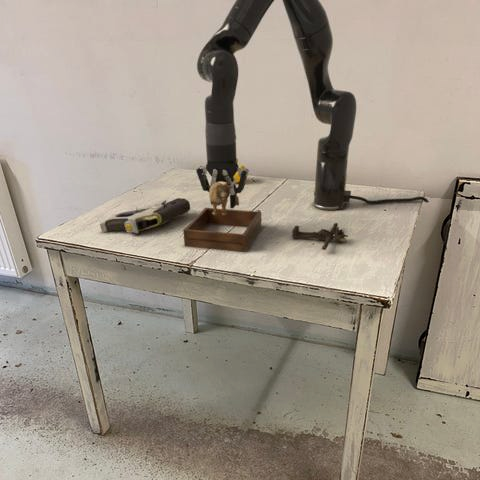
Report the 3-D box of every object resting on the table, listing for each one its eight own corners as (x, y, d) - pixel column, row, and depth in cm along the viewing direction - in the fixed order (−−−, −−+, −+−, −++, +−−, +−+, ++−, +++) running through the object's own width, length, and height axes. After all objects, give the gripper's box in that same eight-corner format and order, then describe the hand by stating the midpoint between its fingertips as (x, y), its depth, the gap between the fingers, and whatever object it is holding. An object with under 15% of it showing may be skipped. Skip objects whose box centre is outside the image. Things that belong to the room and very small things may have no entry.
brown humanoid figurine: (301, 215, 138) (353, 215, 133) (302, 229, 140) (352, 230, 135) (284, 238, 124) (342, 240, 119) (285, 254, 126) (342, 256, 121)
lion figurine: (226, 220, 124) (224, 185, 119) (206, 219, 125) (204, 184, 120) (241, 202, 136) (240, 170, 131) (223, 201, 137) (222, 169, 132)
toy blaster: (94, 217, 137) (129, 222, 128) (157, 192, 153) (192, 195, 144) (100, 236, 139) (134, 242, 131) (161, 209, 155) (195, 213, 147)
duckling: (214, 181, 177) (213, 153, 172) (222, 178, 181) (221, 150, 176) (241, 186, 172) (240, 157, 167) (248, 182, 176) (248, 154, 171)
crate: (261, 226, 139) (261, 211, 137) (245, 252, 125) (245, 235, 122) (206, 222, 143) (205, 207, 141) (184, 246, 129) (183, 230, 126)
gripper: (188, 143, 119) (194, 210, 128) (244, 145, 116) (246, 213, 125) (198, 136, 125) (203, 200, 134) (252, 138, 122) (253, 203, 131)
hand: (224, 206), depth 130 cm, fingers closed on lion figurine, 4 cm apart
